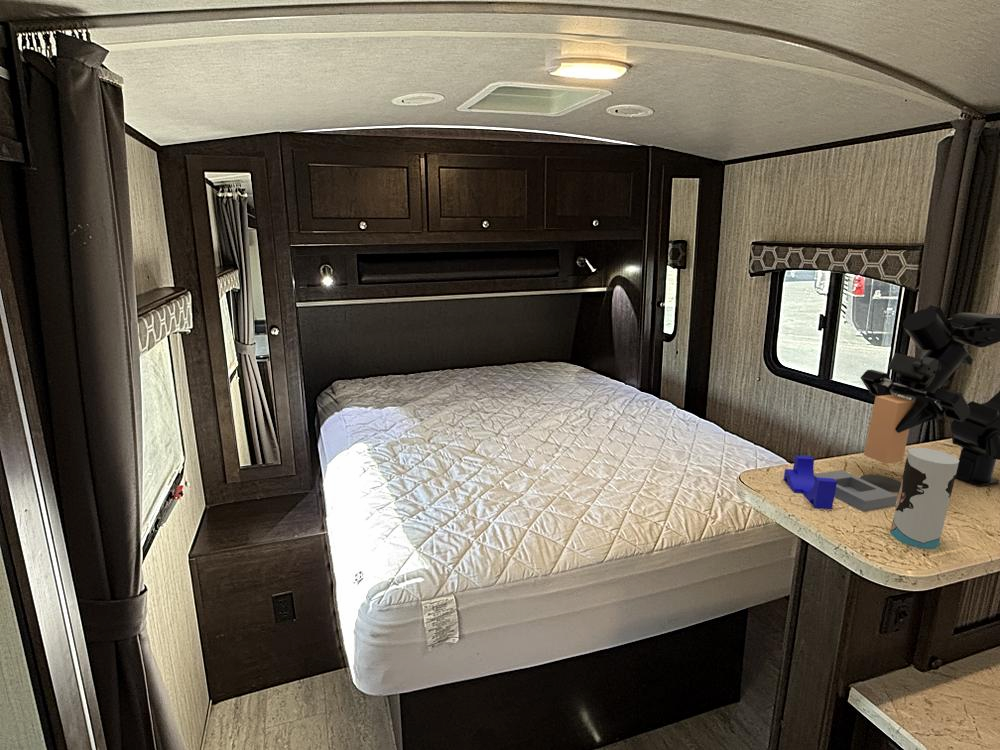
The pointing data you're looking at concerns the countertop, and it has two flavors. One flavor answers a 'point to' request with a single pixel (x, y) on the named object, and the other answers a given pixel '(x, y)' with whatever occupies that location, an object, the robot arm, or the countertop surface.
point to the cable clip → (810, 483)
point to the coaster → (883, 482)
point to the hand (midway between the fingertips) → (884, 426)
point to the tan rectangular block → (887, 429)
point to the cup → (924, 497)
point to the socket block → (859, 491)
